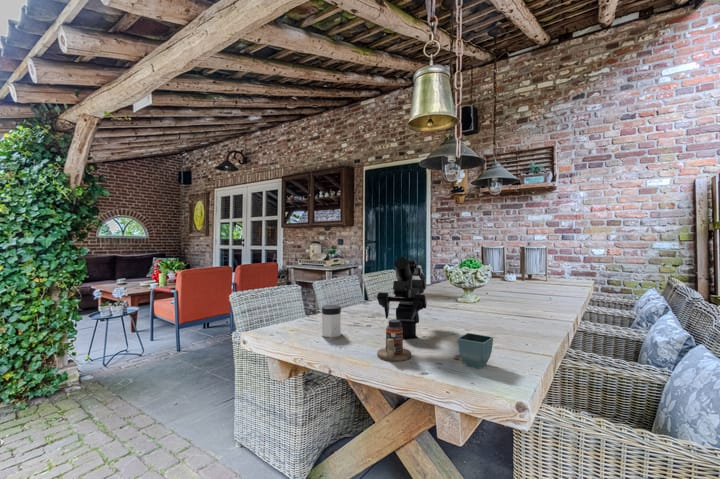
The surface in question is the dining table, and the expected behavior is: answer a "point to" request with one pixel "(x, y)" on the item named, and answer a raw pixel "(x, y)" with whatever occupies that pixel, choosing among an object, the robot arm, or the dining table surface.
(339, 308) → the jar
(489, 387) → the dining table surface
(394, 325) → the supplement bottle
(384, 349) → the flange plate
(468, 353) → the flower pot
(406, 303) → the robot arm
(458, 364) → the dining table surface
